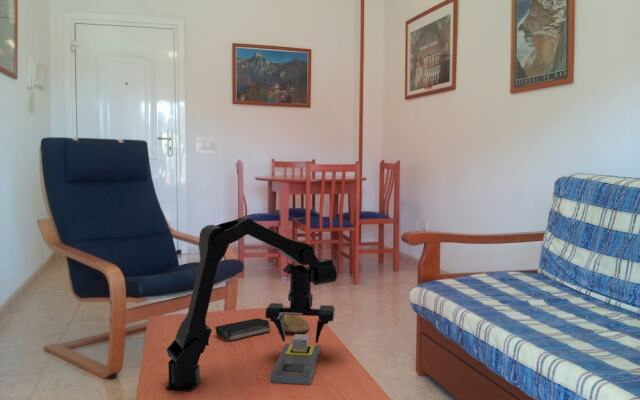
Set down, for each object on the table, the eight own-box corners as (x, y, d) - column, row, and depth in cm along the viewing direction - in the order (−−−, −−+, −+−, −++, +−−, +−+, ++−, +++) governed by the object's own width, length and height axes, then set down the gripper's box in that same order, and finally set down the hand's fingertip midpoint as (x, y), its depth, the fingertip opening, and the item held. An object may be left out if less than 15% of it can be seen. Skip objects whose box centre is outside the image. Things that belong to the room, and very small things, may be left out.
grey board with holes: (270, 382, 129) (270, 373, 129) (285, 350, 150) (285, 342, 150) (310, 384, 128) (310, 375, 128) (320, 352, 149) (320, 344, 149)
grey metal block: (292, 360, 143) (292, 339, 143) (294, 354, 147) (294, 334, 147) (306, 360, 143) (306, 339, 142) (308, 355, 147) (308, 334, 146)
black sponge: (225, 344, 155) (225, 332, 155) (213, 336, 162) (213, 324, 162) (272, 333, 165) (272, 322, 165) (259, 326, 172) (259, 315, 171)
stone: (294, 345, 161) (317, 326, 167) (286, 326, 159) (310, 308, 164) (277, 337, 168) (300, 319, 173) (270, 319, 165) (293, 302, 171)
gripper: (336, 281, 150) (336, 333, 151) (273, 278, 152) (273, 330, 154) (333, 291, 139) (332, 347, 140) (264, 288, 141) (265, 344, 143)
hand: (300, 341), depth 145 cm, fingers open, 9 cm apart
